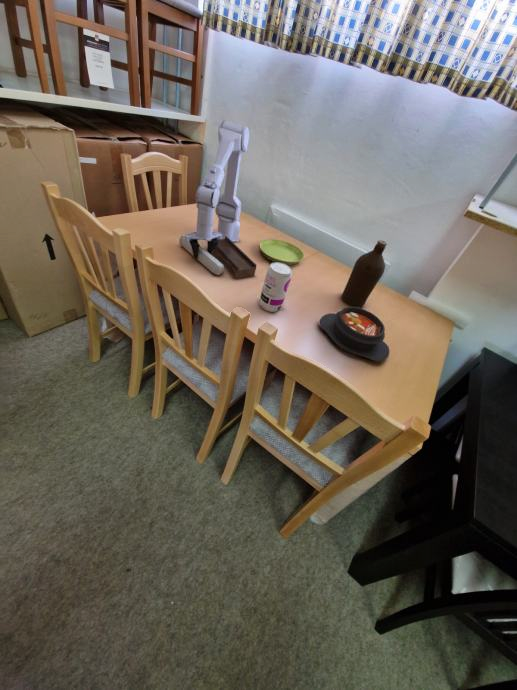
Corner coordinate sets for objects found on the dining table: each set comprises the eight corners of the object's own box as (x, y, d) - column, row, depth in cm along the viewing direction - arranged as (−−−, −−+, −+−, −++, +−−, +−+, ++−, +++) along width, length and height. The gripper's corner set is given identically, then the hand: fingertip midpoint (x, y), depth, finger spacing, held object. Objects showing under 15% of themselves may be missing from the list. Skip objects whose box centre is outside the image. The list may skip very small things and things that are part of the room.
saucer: (279, 272, 123) (281, 265, 120) (248, 248, 132) (250, 242, 130) (310, 263, 135) (313, 257, 133) (280, 242, 144) (282, 236, 142)
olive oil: (367, 311, 115) (401, 252, 98) (342, 306, 113) (372, 245, 97) (361, 296, 123) (391, 238, 106) (337, 291, 121) (364, 232, 104)
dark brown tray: (224, 247, 128) (226, 236, 125) (254, 276, 115) (256, 264, 112) (207, 249, 124) (208, 237, 120) (235, 279, 111) (237, 267, 107)
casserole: (393, 348, 101) (407, 329, 95) (374, 375, 89) (388, 356, 83) (332, 310, 110) (341, 292, 104) (307, 331, 97) (315, 311, 92)
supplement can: (283, 303, 106) (295, 267, 96) (277, 315, 100) (289, 278, 90) (263, 296, 107) (272, 258, 97) (255, 307, 101) (265, 268, 91)
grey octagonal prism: (228, 265, 110) (192, 235, 121) (218, 263, 105) (181, 232, 116) (223, 278, 112) (187, 247, 123) (212, 277, 108) (177, 245, 119)
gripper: (191, 228, 100) (189, 264, 109) (227, 226, 108) (223, 260, 117) (182, 219, 104) (181, 254, 113) (218, 218, 111) (215, 251, 121)
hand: (202, 256), depth 115 cm, fingers open, 5 cm apart
